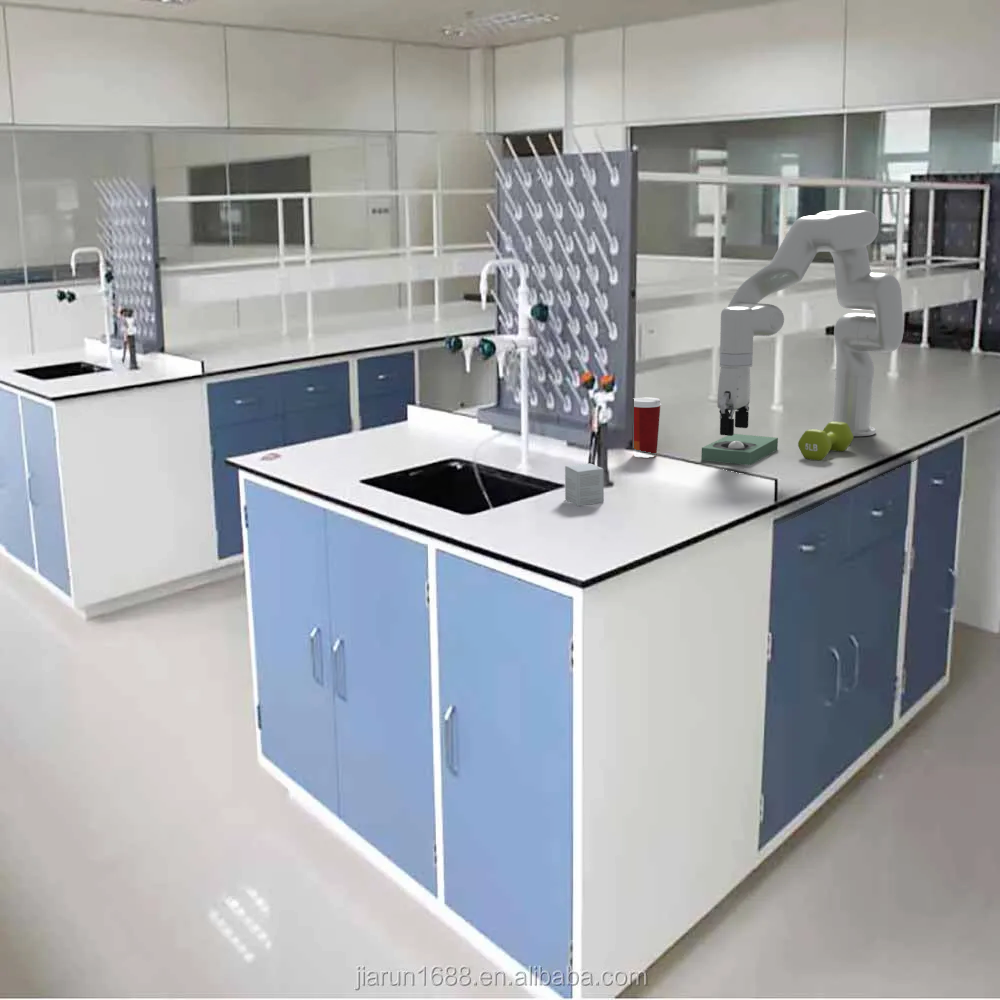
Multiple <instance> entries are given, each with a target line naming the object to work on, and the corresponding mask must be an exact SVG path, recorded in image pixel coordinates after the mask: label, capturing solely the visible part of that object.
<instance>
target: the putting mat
mask: <svg viewBox="0 0 1000 1000" xmlns="http://www.w3.org/2000/svg"><path fill="white" fill-rule="evenodd" d="M733 441H740V442H741V443H743V445H744V447H745V448H728V446H729V444H730V443H731V442H733ZM778 444H779V438H778V437H773V436H760V435H753V434H751V435H750V434H743V433H742V434H741V433H739V434H738V433H734V435H732V436H727V435H725V436H724V437H721V438H719V439H717V440H716V441H713V442H711V443H709V444H706V445H704V446H703V447H701V456H700V457H701V461H707V462H716V463H727V464H735V465H744V466H751V465H752V464H754V463H756V462H758V461H760V460H761V459H763V458H765V457H767V456H768V455H770V454H773V453H775V451H778V449H779V448H778Z"/></svg>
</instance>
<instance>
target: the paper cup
mask: <svg viewBox="0 0 1000 1000" xmlns="http://www.w3.org/2000/svg"><path fill="white" fill-rule="evenodd" d="M633 399H634V449H636V450H641V451H646V452H651V453H657V451H658V442H659V441H658V439H659V429H660V428H659V427H660V417H661V406H663V404H662V403H661V399H660V398H658V397H645V396H644V397H634V398H633Z"/></svg>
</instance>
